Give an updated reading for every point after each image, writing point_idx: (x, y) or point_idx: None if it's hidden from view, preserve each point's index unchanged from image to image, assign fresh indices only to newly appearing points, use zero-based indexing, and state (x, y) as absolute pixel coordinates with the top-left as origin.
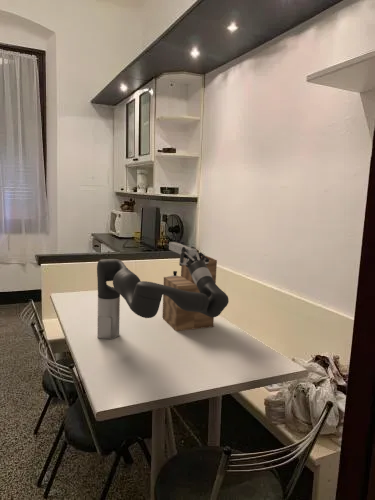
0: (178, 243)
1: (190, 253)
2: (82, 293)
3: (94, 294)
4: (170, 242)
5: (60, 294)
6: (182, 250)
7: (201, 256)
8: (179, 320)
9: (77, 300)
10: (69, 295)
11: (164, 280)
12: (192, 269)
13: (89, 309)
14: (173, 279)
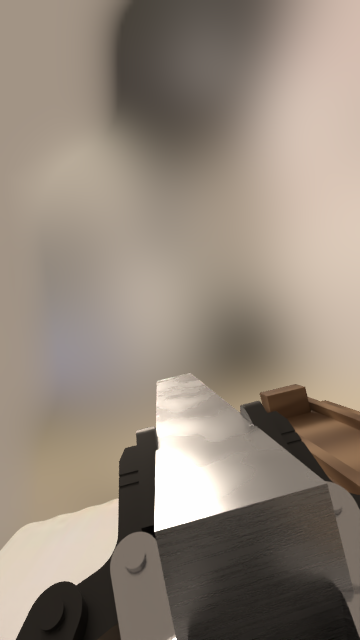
0: (190, 379)
1: (207, 606)
2: (70, 520)
3: (90, 522)
4: (160, 381)
5: (25, 530)
6: (120, 489)
7: (346, 427)
8: None
9: (31, 562)
10: (38, 533)
11: None
12: None
13: (7, 635)
14: None
